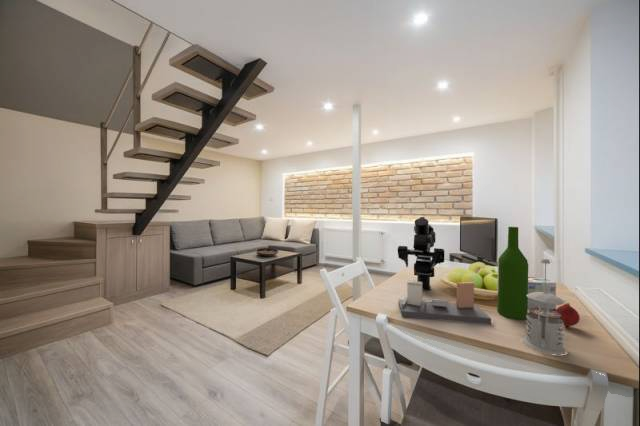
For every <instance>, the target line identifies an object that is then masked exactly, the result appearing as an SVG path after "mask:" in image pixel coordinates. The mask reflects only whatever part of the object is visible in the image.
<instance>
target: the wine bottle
mask: <svg viewBox="0 0 640 426" xmlns="http://www.w3.org/2000/svg"><path fill="white" fill-rule="evenodd" d="M507 228H508V231H507V233H508V234H507V248H506V249H505V250H504V251H503V252H502V253H501V255H500V256H499V257H498V261H497V290H496V291H497V294H496V296H497V300H496V304H497V306H496V311H497V313H498V314H499V315H500V316H503V317H505V318H509V319H512V320H518V321H519V320H521V321H523V320H528V319H527V313H529V310H528V309H529V308H528V298H527V296H526V295H527V294H528V277H529V262H528V259H527V258H526V256H525V255H524V254H523V252H522V251H521V249H520V248H519V227H518V226H508V227H507Z"/></svg>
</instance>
